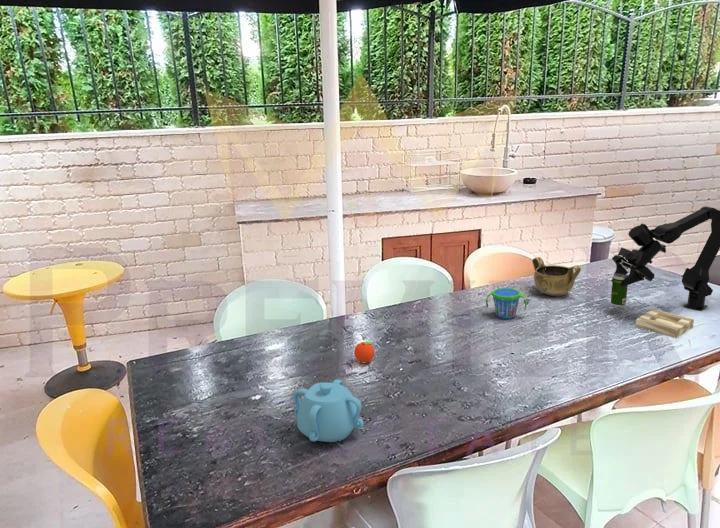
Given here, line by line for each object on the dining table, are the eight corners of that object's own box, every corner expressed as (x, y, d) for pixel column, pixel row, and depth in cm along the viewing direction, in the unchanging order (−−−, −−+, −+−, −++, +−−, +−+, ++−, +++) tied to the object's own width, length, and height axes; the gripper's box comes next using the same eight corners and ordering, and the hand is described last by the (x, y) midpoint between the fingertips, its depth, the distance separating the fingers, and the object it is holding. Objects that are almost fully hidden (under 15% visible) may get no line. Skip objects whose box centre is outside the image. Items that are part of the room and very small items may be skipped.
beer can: (628, 304, 201) (631, 274, 197) (621, 308, 198) (624, 278, 194) (614, 300, 205) (617, 272, 201) (607, 304, 202) (610, 275, 198)
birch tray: (652, 317, 200) (653, 309, 199) (692, 327, 189) (694, 319, 188) (635, 327, 191) (636, 319, 190) (676, 339, 181) (677, 330, 180)
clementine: (373, 354, 179) (372, 336, 177) (381, 363, 173) (380, 343, 171) (351, 359, 177) (350, 340, 175) (358, 368, 170) (357, 348, 168)
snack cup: (482, 318, 206) (483, 294, 203) (489, 309, 215) (489, 285, 212) (523, 323, 199) (524, 298, 196) (528, 313, 208) (529, 290, 205)
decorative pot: (304, 455, 128) (300, 407, 124) (293, 420, 143) (289, 376, 139) (367, 441, 133) (364, 394, 129) (349, 408, 148) (347, 365, 144)
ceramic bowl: (588, 296, 223) (590, 262, 219) (563, 305, 214) (565, 271, 210) (544, 283, 241) (546, 252, 237) (520, 291, 232) (521, 259, 228)
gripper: (618, 234, 203) (590, 264, 205) (650, 246, 186) (619, 278, 187) (634, 252, 207) (606, 281, 208) (668, 265, 189) (637, 296, 191)
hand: (616, 283), depth 199 cm, fingers closed on beer can, 5 cm apart
